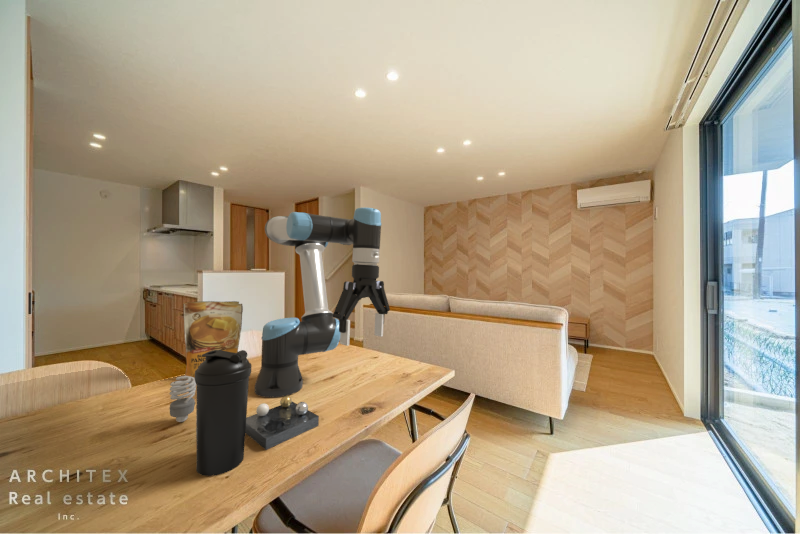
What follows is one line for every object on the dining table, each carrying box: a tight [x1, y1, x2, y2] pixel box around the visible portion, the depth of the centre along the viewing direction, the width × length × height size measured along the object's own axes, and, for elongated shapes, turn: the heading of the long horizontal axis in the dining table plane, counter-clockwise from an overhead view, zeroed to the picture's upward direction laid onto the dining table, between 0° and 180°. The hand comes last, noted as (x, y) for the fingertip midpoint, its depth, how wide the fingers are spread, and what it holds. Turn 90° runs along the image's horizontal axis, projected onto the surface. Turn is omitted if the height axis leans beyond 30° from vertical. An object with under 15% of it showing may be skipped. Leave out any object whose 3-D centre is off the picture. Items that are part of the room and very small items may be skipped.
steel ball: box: [295, 401, 309, 415], centre depth 77 cm, size 3×3×3 cm
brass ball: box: [279, 395, 293, 407], centre depth 81 cm, size 3×3×3 cm
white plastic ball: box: [256, 403, 270, 416], centre depth 76 cm, size 3×3×3 cm
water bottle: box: [195, 349, 252, 477], centre depth 61 cm, size 10×10×23 cm
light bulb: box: [168, 375, 197, 423], centre depth 76 cm, size 6×6×12 cm
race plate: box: [245, 401, 320, 451], centre depth 75 cm, size 13×14×2 cm
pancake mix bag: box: [182, 300, 244, 381], centre depth 109 cm, size 7×19×28 cm, turn 115°
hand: (362, 340), depth 81 cm, fingers open, 13 cm apart
